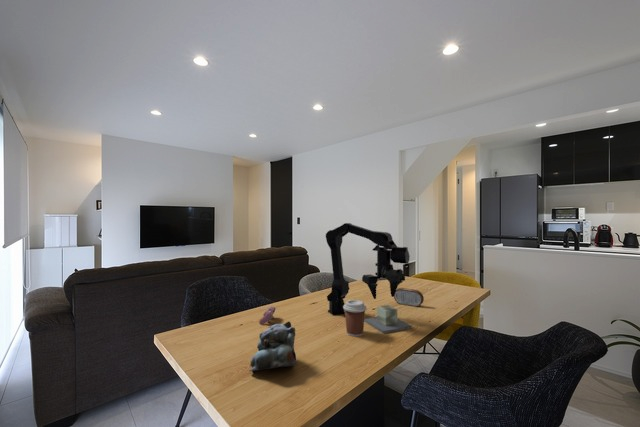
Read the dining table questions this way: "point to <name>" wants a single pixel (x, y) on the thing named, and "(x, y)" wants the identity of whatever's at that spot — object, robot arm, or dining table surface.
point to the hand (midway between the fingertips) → (383, 297)
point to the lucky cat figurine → (275, 348)
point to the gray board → (388, 328)
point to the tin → (408, 297)
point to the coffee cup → (354, 317)
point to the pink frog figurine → (267, 315)
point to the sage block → (387, 315)
